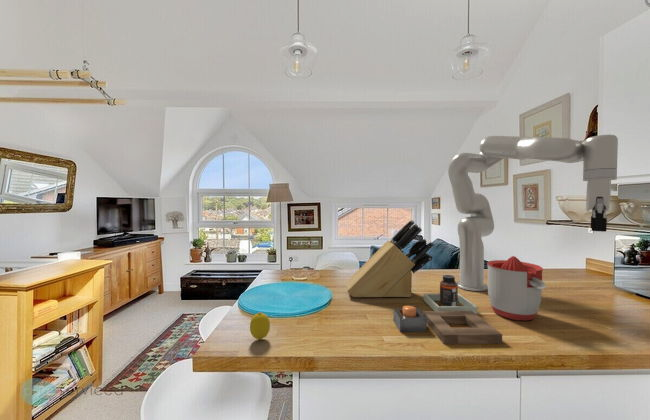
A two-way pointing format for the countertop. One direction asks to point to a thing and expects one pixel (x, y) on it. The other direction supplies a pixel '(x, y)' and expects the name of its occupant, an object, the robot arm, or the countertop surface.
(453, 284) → the supplement bottle
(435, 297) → the ring
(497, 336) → the square frame
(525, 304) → the citrus juicer
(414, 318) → the button housing
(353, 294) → the knife block
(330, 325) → the countertop surface
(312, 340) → the countertop surface
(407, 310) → the button
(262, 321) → the lemon
